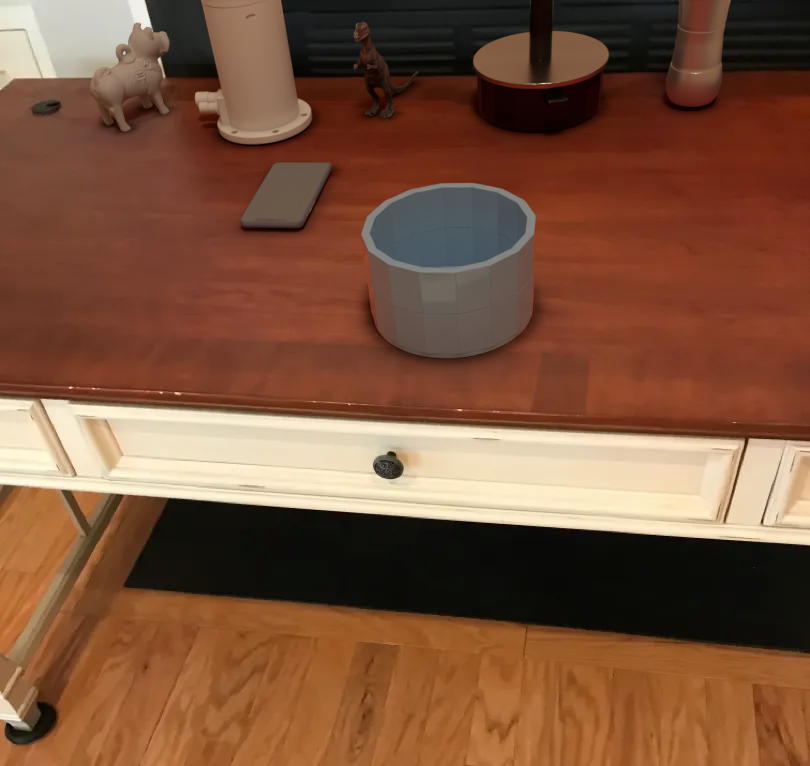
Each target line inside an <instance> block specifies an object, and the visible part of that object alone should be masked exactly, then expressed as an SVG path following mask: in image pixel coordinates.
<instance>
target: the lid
mask: <svg viewBox="0 0 810 766" xmlns="http://www.w3.org/2000/svg"><path fill="white" fill-rule="evenodd" d="M554 1H555V0H529V31H528V32H521V33H515V34H511V35H508V36H504V37H501V38H498V39H495V40H493V41H490V42H489V43H487V44H485V45H484V46H482V47H481V48H480V49H478V50H477V52H476V53H475V54H474V56H473V60H472V68H473V70H474V72H475V73H476V75H477V74H478V75H479V76H480V77H481V78H483V79H484V80H486V81H488V82H491V83H494V84H497V85H501V86H505V87H511V88H520V89H545V88H555V87H561V86H566V85H571V84H575V83H578V82H581V81H584V80H587V79H589V78H591V77H593V76H595V75H596V74H598V73H599V72H601V71H602V70H603V69H604V70H605V68H607V65H608V63H609V59H610V58H609V57H610V52H609V49H608V47H607V46H606V45H605V44H604V43H603V42H602V41H600V40H598V39H596V38H594V37H592V36H588V35H586V34H582V33H581V34H580V33H577V32H571V31H561V30H553V29H554V27H553V26H554V5H555V4H554V3H555V2H554Z"/></svg>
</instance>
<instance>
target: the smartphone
mask: <svg viewBox="0 0 810 766" xmlns="http://www.w3.org/2000/svg"><path fill="white" fill-rule="evenodd" d="M332 169H333V165H332V163H331V162H326V161H325V162H321V161H320V162H314V161H309V162H307V161H306V162H305V161H304V162H299V161H297V162H296V161H292V162H291V161H290V162H289V161H287V162H286V161H285V162H282V161H281V162H280V161H278V162H275V163H274V164H272V166H271V167H270V169H269V171H268V173H266V176H265V177H264V179H263V181H262V183H261V184H260V185H259V188H258V189H257V191H256V192H255V194H254V196H253V197H252V199H251V201H250V202H249V204H248V206H247V207H246V209H245V211H244V212H243V213H242V215H241V217H240V219H239V223H240V225H241V226H242V227H243V228H246V229H247V228H248V229H300V228H302V227H303V226H304V225H305V223H306V221H307V219H308V217H309V216H310V213H311V211H312V210H313V207H314V205H316V201H317V199H318V197H319V195H320V194H321V191H322V189H323V187H324V185H325V183H326V181H327V179H328V177H329V176H330V174H331V171H332Z"/></svg>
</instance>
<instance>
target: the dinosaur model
mask: <svg viewBox="0 0 810 766" xmlns="http://www.w3.org/2000/svg"><path fill="white" fill-rule="evenodd" d="M353 39H354V41H355V43H361V50H360V51H359V54H358V59H357V62H356V63H354V64H353V69H354V71H357V69H361V67H362V68H363V72H364V84H365V89H366V91H367V93H368V94H369V95H370V97H371V98H372V106H371V108H370V109H368V110H366V111H365V116H369V117H371V116H376V114H377V113H378V111H379V108H380V104H381V97H380V96H379V95H378V93H377V91H375V89H381V90H382V91H383V94H384V97H385V98H386V106H385V108H384V109H383V110H382V111H381V112H380V117H382V118H383V119H384V118H390V117H391V116H392V115H393V113H394V106H395V105H394V103H395V102H394V99H393V96H392V95H393V94H392V93H394V94H398V93H401V92H403V91H406V89H408V88H409V86H411V84H412V83H413V81H414V80H415V79H416V78H417V74H418V73H419V71H417V70H416V71H415V72H414V73H412V76H411V77H410V78H409V80H408V81H406V83H405V84H403V85H397V86H396V85H394V84H393V83H392V82H391V77H390V76H391V74H390V70H389V69H390V68H389V66H388V64H387V62H386V61H385V59H384V58H383V56H382V55H381V54H380V53H379V52H378V51H377V49H376V47H375V45H374V44H373V43H372V41H371V40H372V39H371V34H370V27H369V25H368V24H367V23H366V22H365V21H362V22H357V23H356V24H355V29H354V32H353Z"/></svg>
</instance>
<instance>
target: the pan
mask: <svg viewBox="0 0 810 766" xmlns="http://www.w3.org/2000/svg"><path fill="white" fill-rule="evenodd" d="M604 70H605V68H604V69H603V70H602V71H601V72H599V73H598V74H596V75H595V76H593V77H591V78H589V79H587V80H584V81H581V82H578V83H575V84H571V85H566V86H561V87H555V88H545V89H520V88H511V87H505V86H501V85H497V84H494V83H491V82H488V81H486V80H484V79H483V78H481V77H480V76H479V75H478V74H477V73H476V83H477V84H476V85H477V106H478V111H479V115H480V117H481V118H482V119H483V120H484V121H485V122H486V123H488V124H489V125H492V126H494V127H495V128H499V129H502V130H504V131H505V130H506V131H511V132H516V133H525V134H526V133H527V134H532V133H533V134H537V133H538V134H539V133H551V132H558V131H563V130H568V129H571V128H574V127H577V126H579V125H581V124H583V123H586V122H587V121H589V120H590V119H592V118H593V117H594V116H596V114H597V113H598V112H599V110H600V107H601V102H602V97H603V85H604Z"/></svg>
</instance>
